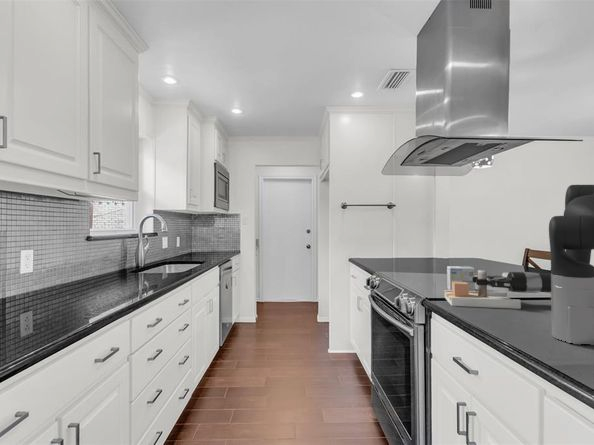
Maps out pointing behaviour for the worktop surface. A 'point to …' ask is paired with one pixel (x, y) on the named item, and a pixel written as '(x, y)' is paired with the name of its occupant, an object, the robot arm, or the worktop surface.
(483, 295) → the plate with upright post
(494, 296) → the tray
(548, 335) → the worktop surface
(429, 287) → the worktop surface
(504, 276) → the die
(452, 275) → the light bulb box
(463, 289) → the block
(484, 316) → the worktop surface
